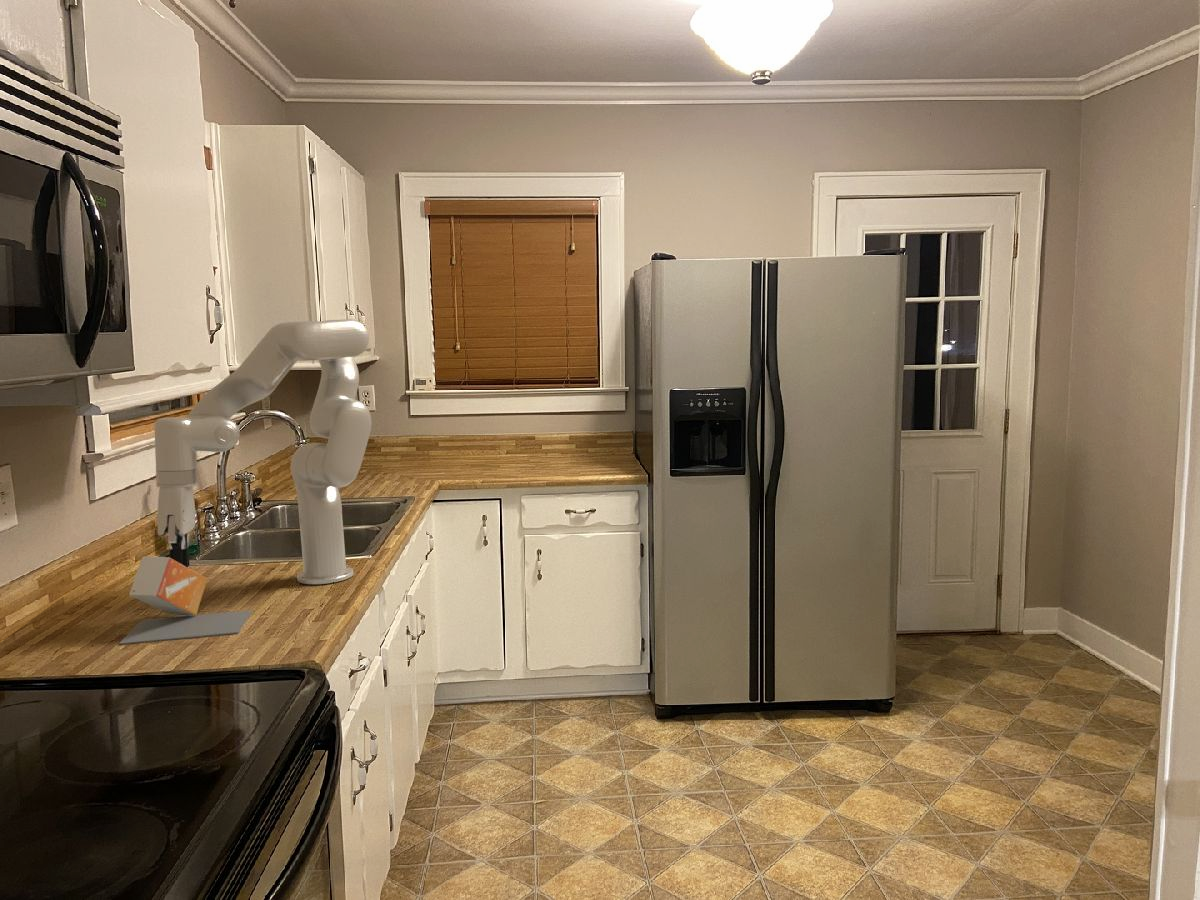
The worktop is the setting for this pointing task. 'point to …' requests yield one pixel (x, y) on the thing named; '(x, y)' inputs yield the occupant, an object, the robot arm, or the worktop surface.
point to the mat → (187, 627)
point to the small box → (168, 586)
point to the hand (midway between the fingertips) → (179, 567)
